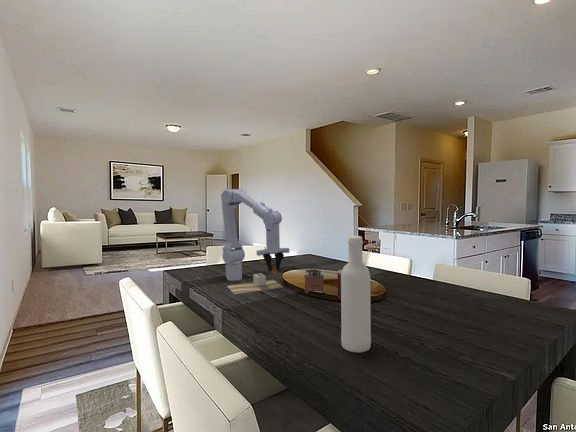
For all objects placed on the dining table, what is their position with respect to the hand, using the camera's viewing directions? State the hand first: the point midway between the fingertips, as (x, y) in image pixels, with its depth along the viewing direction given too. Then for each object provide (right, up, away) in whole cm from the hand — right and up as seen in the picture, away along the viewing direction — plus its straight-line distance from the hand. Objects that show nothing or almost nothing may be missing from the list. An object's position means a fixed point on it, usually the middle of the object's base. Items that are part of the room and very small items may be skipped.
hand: (273, 270), depth 144 cm
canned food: (+30, -9, -14) cm, 34 cm away
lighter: (+17, -9, -5) cm, 20 cm away
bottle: (+25, -12, -54) cm, 61 cm away
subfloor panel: (-8, -8, +1) cm, 12 cm away
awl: (0, -2, 0) cm, 2 cm away
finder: (-6, -7, +5) cm, 11 cm away
